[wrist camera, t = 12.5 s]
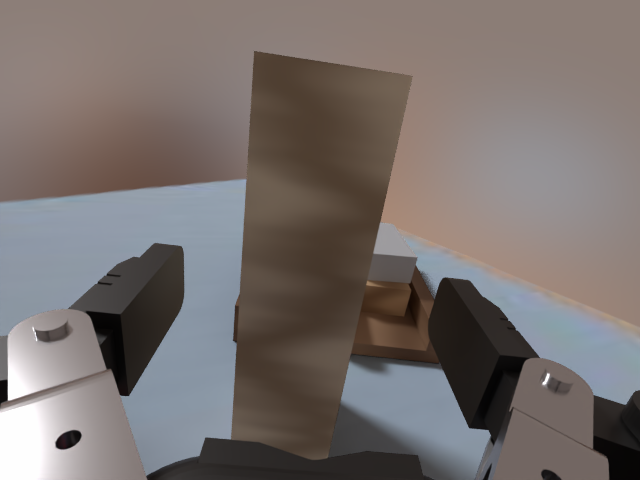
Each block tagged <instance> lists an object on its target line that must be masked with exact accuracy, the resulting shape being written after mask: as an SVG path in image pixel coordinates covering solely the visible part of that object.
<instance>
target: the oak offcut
mask: <svg viewBox="0 0 640 480" xmlns="http://www.w3.org/2000/svg"><path fill="white" fill-rule="evenodd" d="M410 293H411V289H410V287H409V284H408V283H400V282H387V281H374V280H367V284H366V288H365V293H364V297H363V302H362V306H361V312H369V313H378V314H386V315H395V316H403V317H404V315H405V311H406V308H407V304H408V301H409V297H410Z"/></svg>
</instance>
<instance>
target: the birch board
mask: <svg viewBox="0 0 640 480" xmlns="http://www.w3.org/2000/svg"><path fill="white" fill-rule="evenodd" d="M411 81H412V76H410V75H404V74H398V73H391V72H385V71H378V70H371V69H366V68H359V67H352V66H346V65H340V64H333V63H327V62H321V61H314V60H308V59H301V58H295V57H288V56H282V55H276V54H269V53H263V52H257V51H254V64H253V81H252V97H251V114H250V130H249V147H248V148H249V149H248V164H247V165H248V166H247V181H246V198H245V215H244V231H243V248H242V265H241V282H240V299H239V316H238V332H237V349H236V366H235V383H234V400H233V416H232V433H231V440H240V441H252V442H260V443H263V444H266V445H269V446H272V447H275V448H278V449H281V450H284V451H287V452H290V453H293V454H295V455H298V456H301V457H304V458H307V459H311V460H320V459H326V458H328V455H329V451H330V446H331V442H332V437H333V433H334V428H335V424H336V419H337V415H338V410H339V406H340V401H341V397H342V392H343V388H344V383H345V378H346V374H347V369H348V365H349V360H350V356H351V351H352V347H353V342H354V338H355V333H356V329H357V324H358V320H359V315H360V311H361V306H362V302H363V297H364V293H365V288H366V284H367V279H368V275H369V270H370V266H371V261H372V257H373V252H374V248H375V243H376V239H377V234H378V230H379V225H380V221H381V216H382V212H383V207H384V202H385V198H386V194H387V189H388V184H389V180H390V176H391V171H392V166H393V162H394V157H395V153H396V149H397V144H398V140H399V135H400V130H401V126H402V122H403V117H404V112H405V108H406V104H407V99H408V94H409V90H410V86H411Z"/></svg>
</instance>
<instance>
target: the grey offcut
mask: <svg viewBox="0 0 640 480" xmlns="http://www.w3.org/2000/svg"><path fill="white" fill-rule="evenodd" d="M417 258H418V257H417V256H416V255H415V253H414V252H413V251H412V249H411V248H410V247H409V245H408V244H407V242H406V241H405V240H404V238H403V237H402V236H401V234H400V233H399V232H398V230H397V229H396V227H395V226H394V225H393V224H388V223H380V225H379V230H378V234H377V239H376V243H375V248H374V252H373V257H372V261H371V266H370V270H369V275H368V279H367V280H374V281H387V282H400V283H411V279H412V276H413V272H414V268H415V265H416V261H417Z"/></svg>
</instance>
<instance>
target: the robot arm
mask: <svg viewBox="0 0 640 480" xmlns="http://www.w3.org/2000/svg"><path fill="white" fill-rule="evenodd" d="M183 299H184V253H183V248H182V247H181V246H176V245H167V244H159V243H154V244H153V245H152V246H151V247H150V248H149V249H148V250H147V251H146V252H145V253H144V254H143V255H142V256H141V257H140V258H139V257H132V258H130V259H128V260H126V261H124V262H121V263H119V264H117V265H116V266H115V267H114V268H113V269H112V270H110V271H109V272H108V273H107V276H104V277H103V278H102V279H100V280H99V281H98V284H95V285H94V286H93V287H92V288H91V289H89V290H88V291H87V292H86V293H85V294H84V295H83V296H82V297H81V298H79V299H78V300H77V301H76V302H75V303H74V304H73V305H72V306H71V307H69V308H68V309H60V310H52V311H47V312H43V313H40V314H37V315H34V316H32V317H30V318H27V319H26V320H24V321H22V322H21V323H19V324H18V325H16V326H15V327H14V328H13V329H12V330H11V331H10V333H9V335H8V336H0V480H434V479H432V478H429V477H427V476H424V475H423V473H422V469H421V466H420V462H419V458H418V455H406V454H395V453H383V452H371V451H365V452H360V453H354V454H348V455H343V456H337V457H331V458H326V459H320V460H311V459H307V458H304V457H301V456H298V455H295V454H293V453H290V452H287V451H284V450H281V449H278V448H275V447H272V446H269V445H266V444H263V443H260V442H252V441H240V440H229V439H217V438H205V441H204V444H203V447H202V450H201V453H200V456H198V457H192V458H188V459H185V460H181V461H178V462H175V463H172V464H170V465H167V466H165V467H162V468H160V469H159V470H157V471H155V472H153V473H151V474H149V475H147V476H146V475H145V471H144V468H143V465H142V462H141V459H140V456H139V453H138V450H137V447H136V444H135V441H134V438H133V434H132V431H131V428H130V425H129V422H128V419H127V416H126V413H125V410H124V407H123V404H122V400H121V397H120V395H121V396H129V395H130V393H131V391H132V390H133V388H134V387H135V385H136V383H137V382H138V380H139V378H140V377H141V375H142V373H143V372H144V370H145V368H146V367H147V365H148V363H149V362H150V360H151V358H152V357H153V355H154V353H155V352H156V350H157V348H158V347H159V345H160V343H161V342H162V340H163V338H164V337H165V335H166V333H167V332H168V330H169V328H170V327H171V325H172V323H173V322H174V320H175V318H176V317H177V315H178V313H179V312H180V309H181V307H182V303H183ZM428 336H429V339H430V341H431V344H432V346H433V348H434V350H435V353H436V355H437V357H438V359H439V362H440V364H441V366H442V368H443V371H444V373H445V375H446V377H447V380H448V382H449V384H450V386H451V389H452V391H453V393H454V395H455V398H456V400H457V402H458V404H459V407H460V409H461V411H462V413H463V416H464V418H465V420H466V422H467V424H468V427H469V428H473V429H484V430H489V432H490V434H491V436H490V439H489V441H488V443H487V445H486V448H485V451H484V454H483V457H482V459H481V462H480V465H479V468H478V471H477V474H476V477H475V480H640V390H638V391H635V392H634V393H633V395H632V396H631V398H630V399H629V401H628V402H627V404H626V405H623V404H620V403H617V402H614V401H611V400H607V399H604V398H601V397H598V396H595V395H593V392H592V390H591V388H590V386H589V385H588V384H587V383H586V382H585V381H584V380H583V379H582V378H581V377H580V376H579V375H577V374H576V373H575V372H573V371H572V370H570V369H568V368H567V367H565V366H563V365H561V364H559V363H556V362H554V361H551V360H547V359H543V358H540V357H539V356H538V355H537V353H536V352H535V351H534V350H533V349H532V347H531V346H530V345H529V344H528V342H527V341H526V340H525V339H524V338H523V336H522V335H521V334H520V333H519V332H518V331H516V328H515V327H514V325H513V324H512V323H511V322H510V321H508V318H507V317H506V316H505V314H504V313H503V312H502V311H501V310H500V308H499V307H497V306H496V305H494V304H493V303H492V302H490V301H489V300H487V299H486V298H485V297H482V295H481V294H480V293H479V292H478V290H477V289H476V288H475V287H474V285H473V284H472V283H471V282H470V281H469V280H463V279H454V278H446V277H445V278H443V279H442V280H441V282H440V284H439V287H438V290H437V294H436V297H435V300H434V303H433V307H432V310H431V313H430V317H429V320H428Z"/></svg>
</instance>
